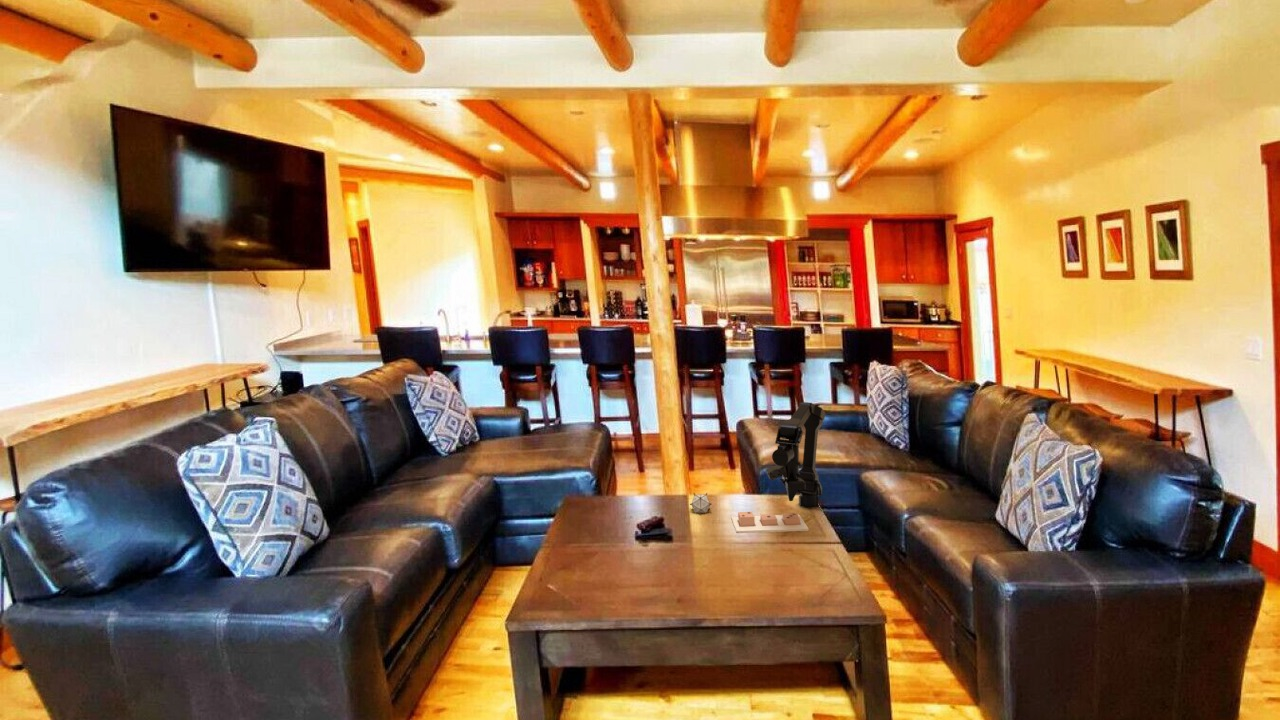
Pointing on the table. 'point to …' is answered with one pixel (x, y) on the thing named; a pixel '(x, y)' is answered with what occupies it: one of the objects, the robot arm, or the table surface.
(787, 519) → the tile three dots
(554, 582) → the table surface
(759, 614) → the table surface
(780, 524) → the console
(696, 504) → the game die
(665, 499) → the table surface
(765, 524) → the tile one dot
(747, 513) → the tile two dots
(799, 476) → the robot arm
